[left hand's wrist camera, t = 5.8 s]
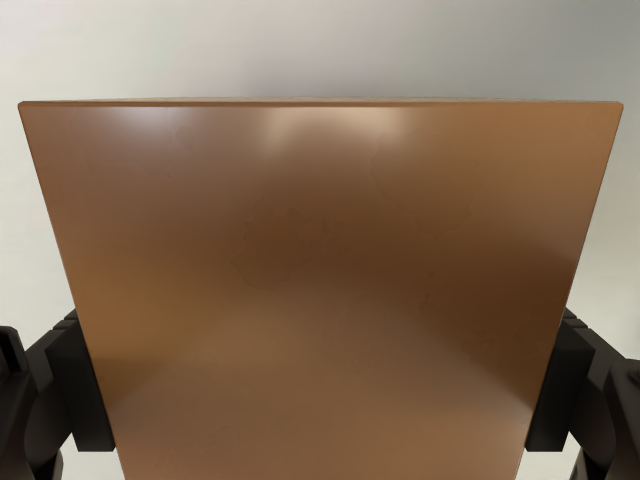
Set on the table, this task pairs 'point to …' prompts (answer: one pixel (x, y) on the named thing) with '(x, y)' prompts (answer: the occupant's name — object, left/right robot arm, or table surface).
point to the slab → (320, 275)
